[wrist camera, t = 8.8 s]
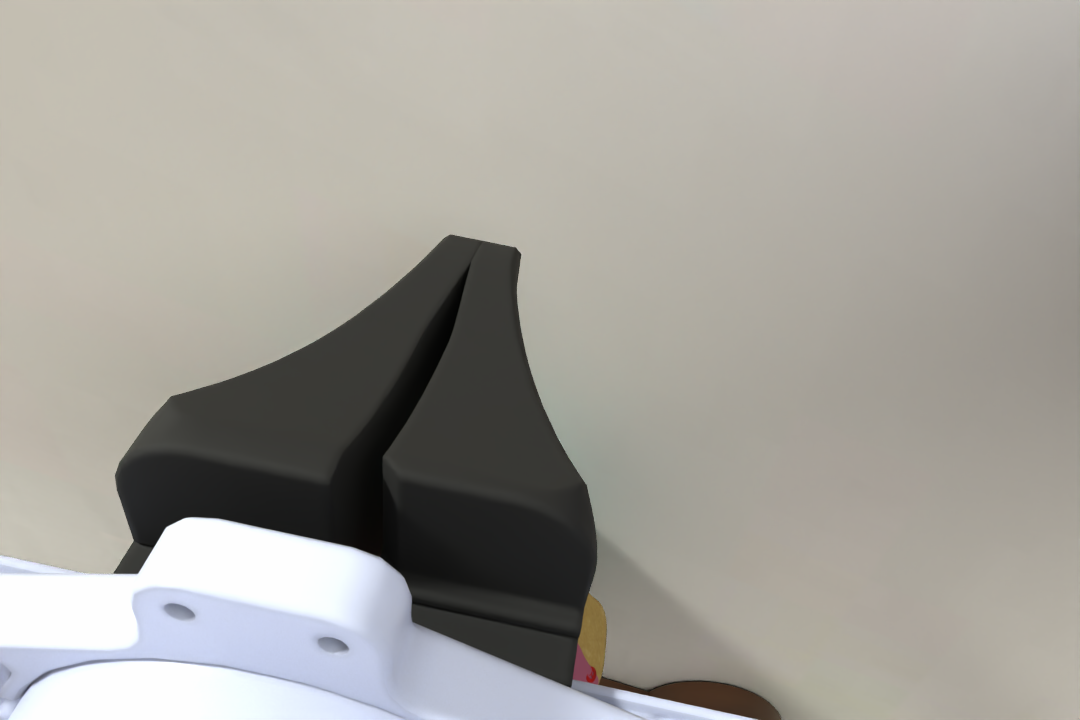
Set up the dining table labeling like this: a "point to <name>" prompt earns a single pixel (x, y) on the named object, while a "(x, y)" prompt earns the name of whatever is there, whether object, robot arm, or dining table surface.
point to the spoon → (708, 697)
